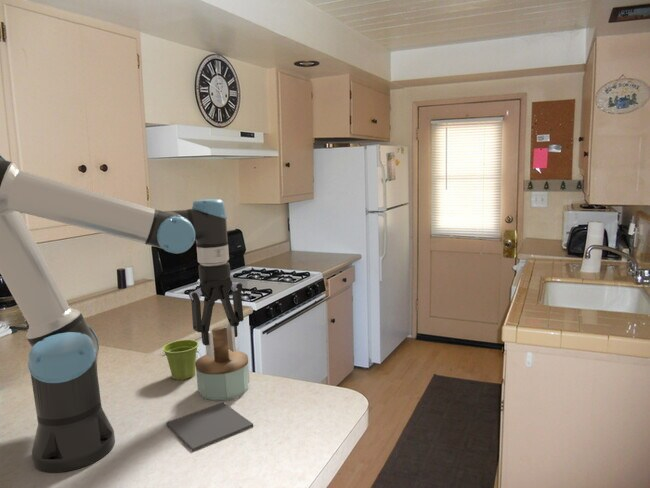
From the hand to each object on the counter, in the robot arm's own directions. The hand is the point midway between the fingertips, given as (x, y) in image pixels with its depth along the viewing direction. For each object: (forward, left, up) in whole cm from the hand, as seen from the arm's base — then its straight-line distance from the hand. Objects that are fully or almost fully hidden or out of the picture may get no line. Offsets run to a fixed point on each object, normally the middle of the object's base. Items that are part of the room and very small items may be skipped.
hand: (221, 353), depth 128 cm
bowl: (0, 0, -10) cm, 10 cm away
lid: (0, 0, -3) cm, 3 cm away
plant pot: (-4, +16, -10) cm, 19 cm away
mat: (-11, -14, -10) cm, 20 cm away
